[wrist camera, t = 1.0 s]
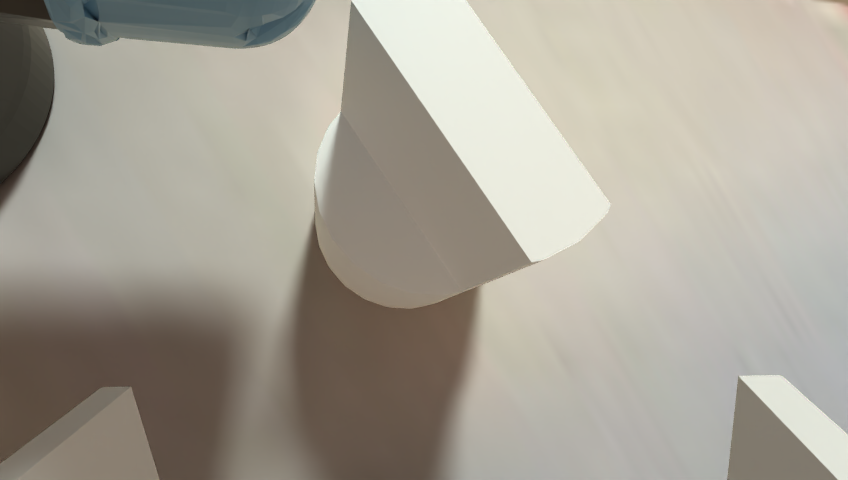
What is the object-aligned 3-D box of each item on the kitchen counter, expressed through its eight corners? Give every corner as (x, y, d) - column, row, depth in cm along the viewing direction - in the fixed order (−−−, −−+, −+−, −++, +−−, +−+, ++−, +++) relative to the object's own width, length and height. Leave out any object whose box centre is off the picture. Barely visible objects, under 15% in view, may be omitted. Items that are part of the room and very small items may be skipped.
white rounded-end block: (280, 192, 23) (241, 33, 11) (425, 114, 26) (511, -76, 14) (379, 345, 22) (444, 340, 11) (517, 248, 25) (686, 163, 14)
